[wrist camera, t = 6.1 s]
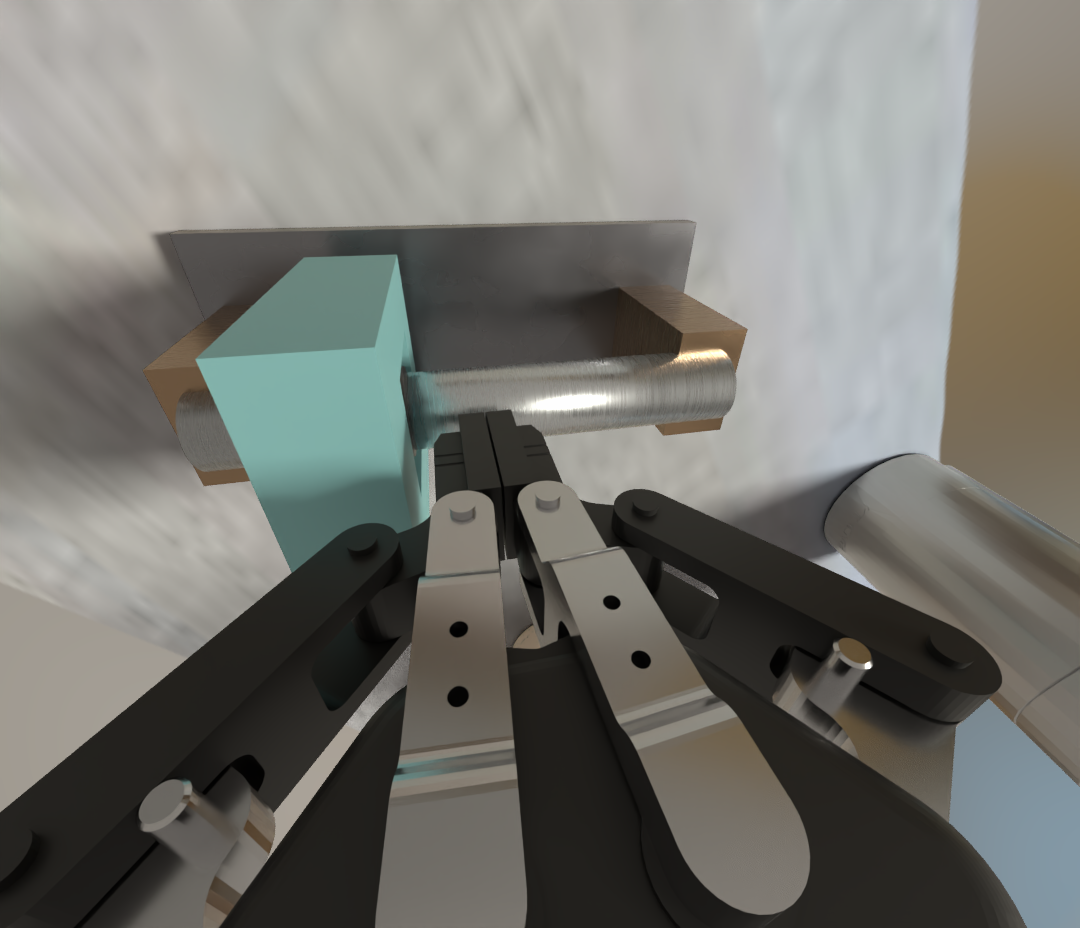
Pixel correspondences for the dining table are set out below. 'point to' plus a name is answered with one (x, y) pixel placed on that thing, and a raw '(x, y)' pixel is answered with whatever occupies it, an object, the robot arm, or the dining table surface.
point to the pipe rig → (486, 327)
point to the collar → (323, 402)
